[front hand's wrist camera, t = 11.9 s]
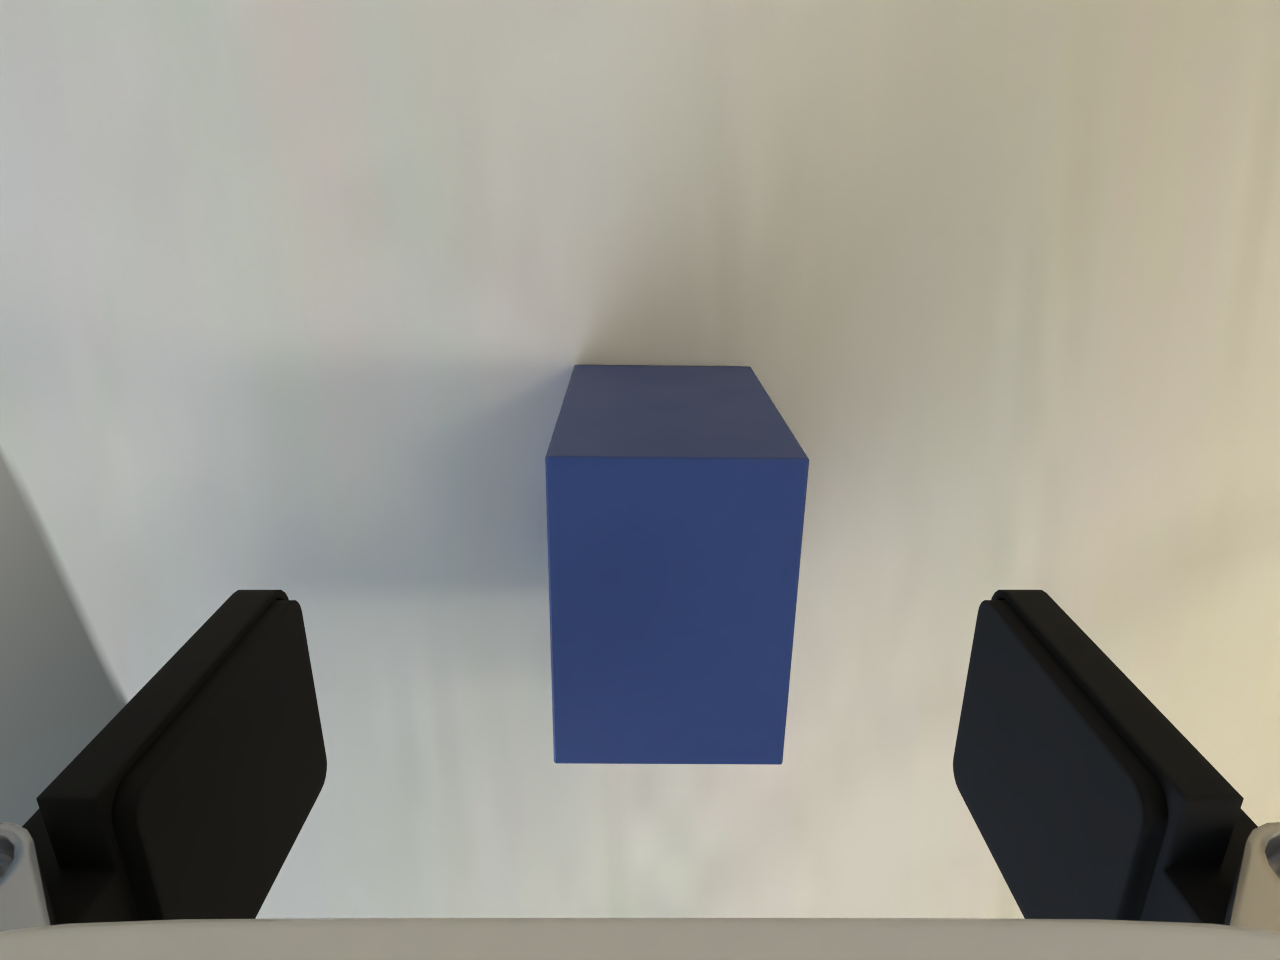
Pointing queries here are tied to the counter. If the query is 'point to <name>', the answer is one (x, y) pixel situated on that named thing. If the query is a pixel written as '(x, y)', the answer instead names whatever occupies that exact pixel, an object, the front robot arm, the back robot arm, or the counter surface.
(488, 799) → the counter surface
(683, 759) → the block
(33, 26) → the counter surface
